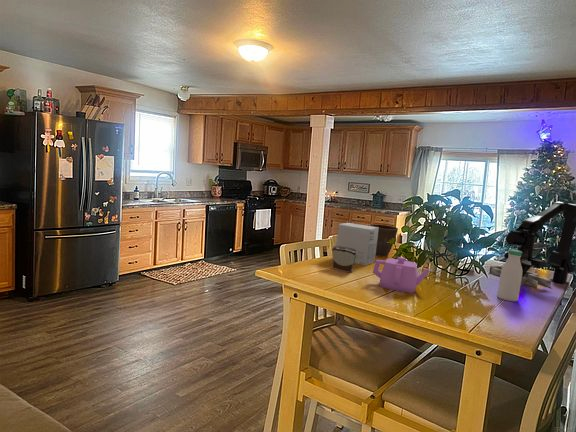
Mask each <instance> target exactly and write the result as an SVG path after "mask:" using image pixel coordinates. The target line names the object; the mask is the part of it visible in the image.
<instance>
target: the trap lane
mask: <svg viewBox="0 0 576 432" xmlns="http://www.w3.org/2000/svg"><path fill="white" fill-rule="evenodd" d="M502 267H503V265H490V266H489V274H493V275H496V276H498V277H500V274H501V270H502ZM522 285H525V286H530V287H532V288H538V285H541V286H545V287H549V288H550V287H551V285H552V281H551V280H550V279H548V278H544V277H540V275H539V274H538V273H535V272H531V271H529V270H528V271H527V272H526V274H525V275H524V276H523V277H522V280H521V286H522Z"/></svg>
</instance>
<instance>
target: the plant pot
mask: <svg viewBox="0 0 576 432" xmlns="http://www.w3.org/2000/svg"><path fill="white" fill-rule="evenodd" d="M370 226H372V227H379V230H378V238H377V247H376V255H375V256H379V257H389V254H390V252H391V250H392V247H393V246H394V243H393V244H390V243H387V242H388V241H389V240H390V239H392V238H395V239H396V238H397V234H398V230H399V228H398V227H396V226H390V225H385V224H371V225H370Z"/></svg>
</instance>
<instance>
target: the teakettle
mask: <svg viewBox="0 0 576 432" xmlns="http://www.w3.org/2000/svg"><path fill="white" fill-rule="evenodd" d="M380 265H383V267H382V270H380ZM430 272H431V269H429V268H425V269H424V270H423V271H422V272H421V273H419V274H418V264H417V262H414V261H409V260H407V259H406V257H402V256H397V258H387V259H386V260H383V259H375V262H374V265H373V270H372V273H373V274H374V275H375V276H377V277H378V278H379V286H380V288H383V289H387V290H392V291H397V292H400V293H401V292H402V293H407V294H408V293H409V294H414V292H416V288H417V286H418V285H419V284H420V283H421V282H422V281H423V280H424V279H425V277H427V275H428V274H429V273H430Z"/></svg>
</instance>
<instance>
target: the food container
mask: <svg viewBox="0 0 576 432" xmlns="http://www.w3.org/2000/svg"><path fill="white" fill-rule="evenodd" d="M331 251H332V269H334V270H338V271H342V272H345V273H353V270H354V266H355V263H354V262H355V258H356V256H357V255H358V253H357V250H356V249H354V248H350V247H343V246H336V245H334V246H332V247H331Z"/></svg>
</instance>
